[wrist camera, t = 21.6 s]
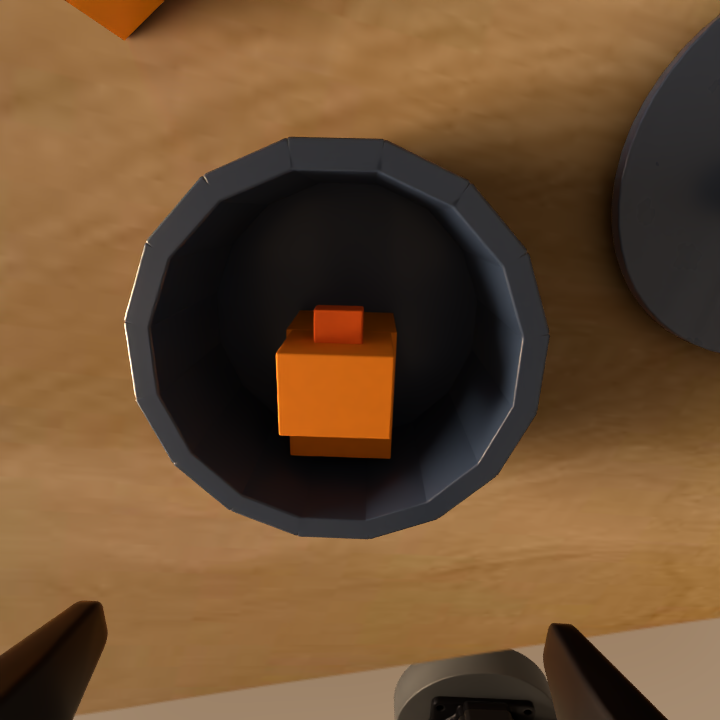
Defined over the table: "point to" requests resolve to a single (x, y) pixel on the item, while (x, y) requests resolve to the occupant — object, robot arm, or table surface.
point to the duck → (337, 382)
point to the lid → (675, 196)
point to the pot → (346, 288)
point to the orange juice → (117, 13)
